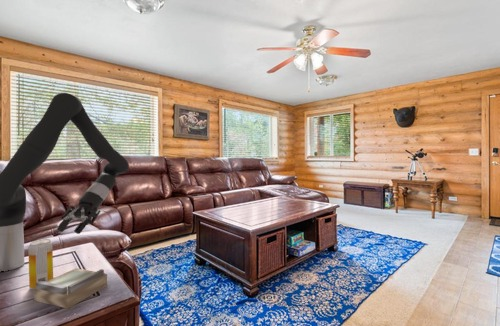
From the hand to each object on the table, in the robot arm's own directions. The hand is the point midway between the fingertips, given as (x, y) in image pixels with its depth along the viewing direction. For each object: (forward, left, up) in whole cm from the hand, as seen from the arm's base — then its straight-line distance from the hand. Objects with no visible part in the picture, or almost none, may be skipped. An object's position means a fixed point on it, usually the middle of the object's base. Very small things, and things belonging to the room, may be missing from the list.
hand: (67, 231), depth 90 cm
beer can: (0, -9, -16) cm, 18 cm away
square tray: (+14, -9, -16) cm, 23 cm away
